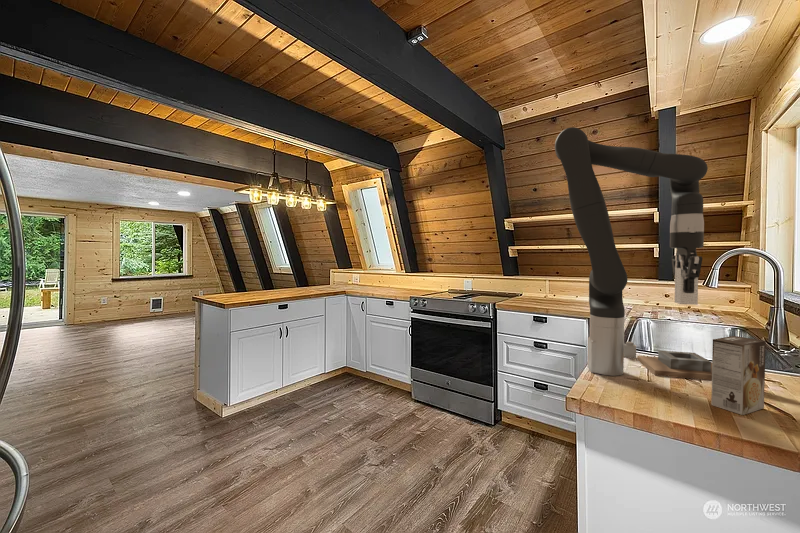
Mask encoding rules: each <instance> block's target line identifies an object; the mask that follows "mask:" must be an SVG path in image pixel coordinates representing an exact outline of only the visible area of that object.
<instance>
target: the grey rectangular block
mask: <svg viewBox="0 0 800 533" xmlns="http://www.w3.org/2000/svg"><path fill="white" fill-rule="evenodd" d="M628 357H631V358H630V359H637V344H634V342H633V341H626V342H625V343H624V358H628Z"/></svg>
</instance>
